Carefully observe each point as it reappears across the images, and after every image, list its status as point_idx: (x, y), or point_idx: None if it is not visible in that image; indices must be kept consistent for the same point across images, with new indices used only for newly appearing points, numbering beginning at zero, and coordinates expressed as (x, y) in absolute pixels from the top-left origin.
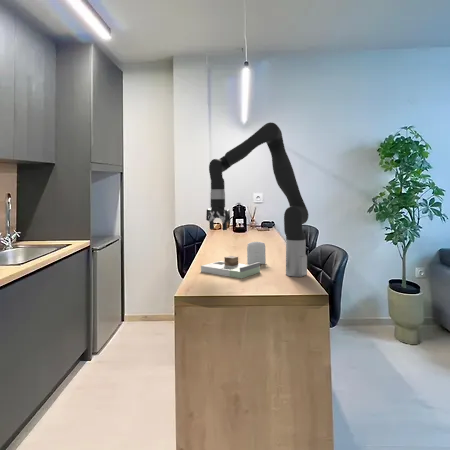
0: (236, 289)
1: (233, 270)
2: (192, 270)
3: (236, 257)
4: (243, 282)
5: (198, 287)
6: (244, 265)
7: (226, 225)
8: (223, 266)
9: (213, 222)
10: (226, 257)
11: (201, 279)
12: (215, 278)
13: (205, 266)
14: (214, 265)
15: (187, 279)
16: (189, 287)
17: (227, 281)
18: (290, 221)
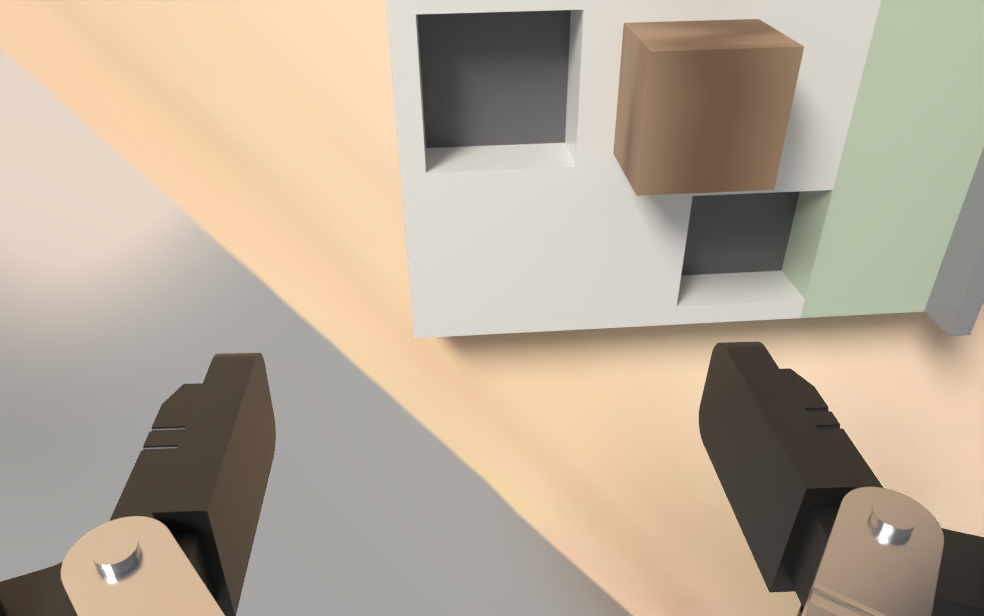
0: (972, 500)
1: (841, 304)
2: (299, 311)
3: (792, 90)
4: (966, 362)
5: (724, 584)
6: (863, 22)
7: (844, 454)
8: (650, 225)
9: (217, 508)
10: (671, 192)
11: (616, 469)
12: (696, 395)
13: (478, 333)
14: (526, 243)
15: (525, 518)
16: (675, 608)
17: (833, 406)
18: None
